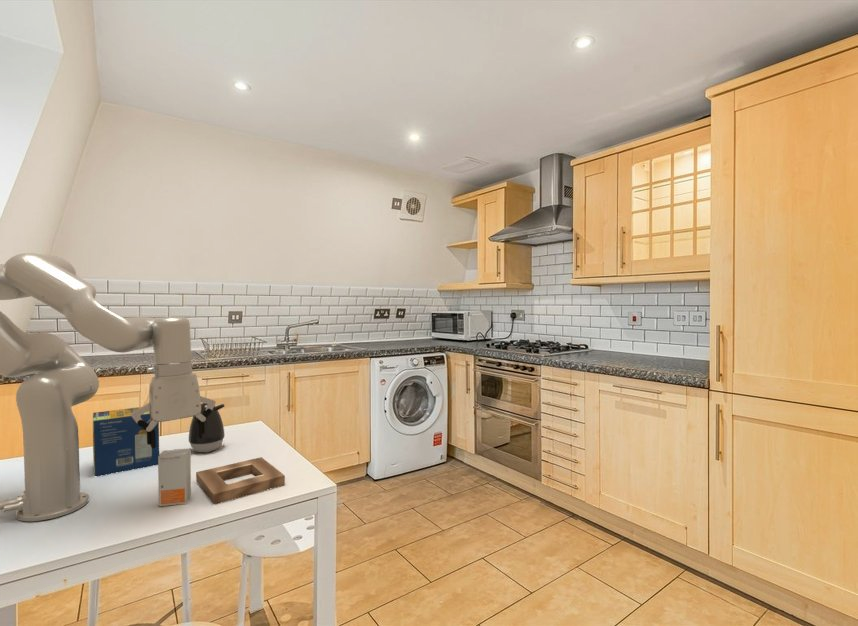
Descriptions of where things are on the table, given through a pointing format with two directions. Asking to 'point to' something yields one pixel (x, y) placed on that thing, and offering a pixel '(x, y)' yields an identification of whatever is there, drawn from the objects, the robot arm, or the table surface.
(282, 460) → the table surface
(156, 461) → the protein box
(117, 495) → the table surface
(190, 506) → the table surface
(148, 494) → the table surface
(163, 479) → the skincare box
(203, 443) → the pump dispenser
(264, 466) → the wooden square frame
